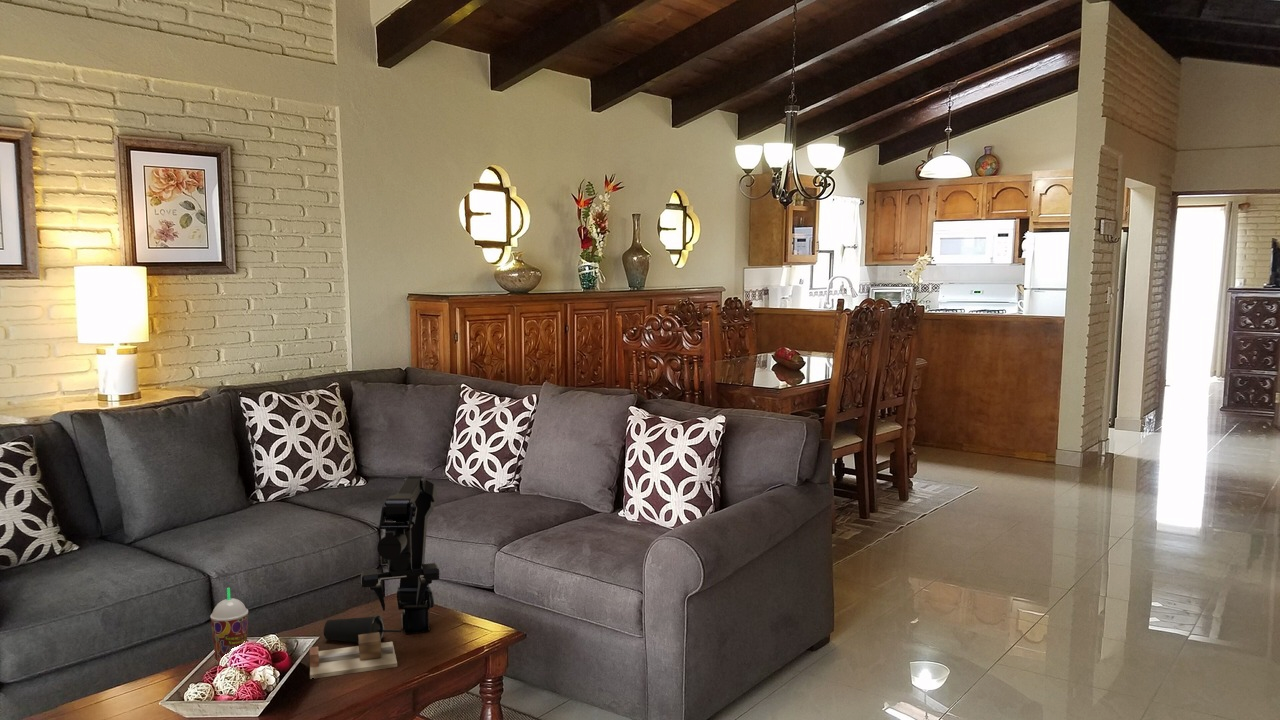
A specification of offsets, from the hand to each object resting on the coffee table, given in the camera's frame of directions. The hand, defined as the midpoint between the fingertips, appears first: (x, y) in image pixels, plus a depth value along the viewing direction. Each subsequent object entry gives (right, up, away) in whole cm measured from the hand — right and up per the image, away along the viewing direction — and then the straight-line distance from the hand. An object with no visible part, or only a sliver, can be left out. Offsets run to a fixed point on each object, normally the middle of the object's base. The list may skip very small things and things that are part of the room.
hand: (400, 608), depth 224 cm
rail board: (-11, -12, -3) cm, 17 cm away
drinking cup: (-22, -8, +10) cm, 26 cm away
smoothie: (-39, -13, -7) cm, 42 cm away
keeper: (-7, -11, -2) cm, 13 cm away
